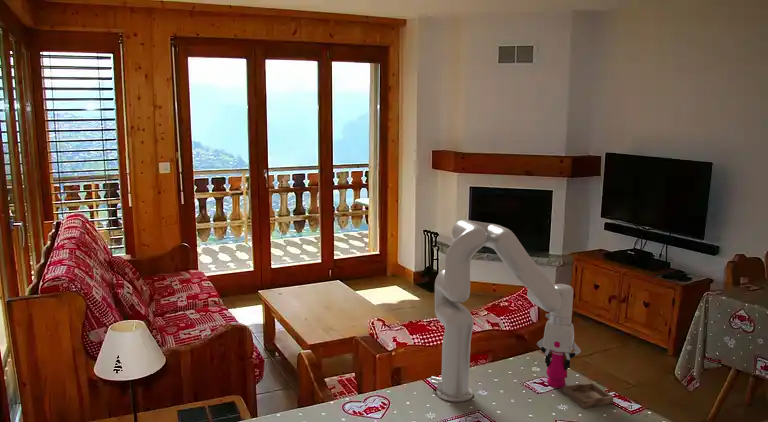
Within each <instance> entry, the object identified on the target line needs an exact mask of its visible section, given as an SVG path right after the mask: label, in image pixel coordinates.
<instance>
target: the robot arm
mask: <svg viewBox="0 0 768 422" xmlns="http://www.w3.org/2000/svg"><path fill="white" fill-rule="evenodd" d="M451 234H452V238H453V239H454V240H453V241H452V242H451V244H450V245H449V246H448V249H447V251H446V252H445V259H444V269H442V270H441V271H440V272H438V274H437V276H436V278H435V280H434V311H435V316H436V319H437V320H438V321H439V323H441V325H443V327H444V333H443V338H442V342H441V343H442V345H441V346H442V348H441V376H440V377H437V376H433V375H432V376H431V377H430V383H431V385H434V386H437V388H436V395H437V396H438V398H440V399H442V400H445V401H447V402H448V401H449V402H455V403H457V402H458V403H461V402H466V401H469V400H470V399H472V397H473V396H474V392H473V391H474V390H473V389H472V388H471V386H469V385H470V364H471V362H470V361H471V358H470V357H471V344H472V343H471V341H472V335H473V334H472V333H473V330H474V318H473V315H472V313H471V311H470V310H469V309H467V308H466V307H465V306H464V305H463V304H462V303H464V302H466V301H467V300H468V299H469V297H470V295H471V261H472V258H473V257H474V255H475V254H476V253H477V252H478V251H479V250H480V249H482V248H483V247H487V248H490V249H493V250H494V252H496V254H497V256H498V257H499V258H500V260H501V261H502V262H503V264H504V266H505V267H506V268H507V269H508V271H509V272H510V274H511V275H512V276H513V277H514V278H515V279H516V280H518V281H519V282H520V283H522V284H523V285H524V286H525V287H526V288H527V293H526V296H527V298H528V300H529V301H530V302H531V303H532V304H534V305H536V306H537V307H539V308H541V309H542V310H544V311H545V312H548V313H545V318H547V319H548V320H547V321H546V324H545V327H544V333H543V338H541V339H540V340H539V341H537V343H536V345H537V347H539V349H540V350H541V351H542V352H543V354H544V356H545V361H544V362H545V364H546V367H548V366H549V364H550V362H551V359H552V353H551V350H552V351H558V352H563V353H565V354H564V356H565V357H566V358H564V359H565V360H564V364H565V370H566V371H567V372H568V369H569V368H570V367H571V359H573V358H575V357H576V356H577V355H579V354H580V353H581V351H582V350H581V349H580V347H579V346H578V345H577V344H576V342H575V330H574V324H573V323H572V317H573V316H572V315H573V303H574V302H573V301H574V288H573V287H572V286H571V285H568V284H565V283H556V284H554V283H553V282H552V281H551V280H550V278H549V277H548V276H547V275H546V274H545V273H544V271H543V270H542V269H541V268H540V266H539V265H538V264H537V263H536V262H535V261H534V260H533V259H532V257H531V256H530V255H529V253H528V252H527V251H526V249H525V248H524V246H523V245H522V243H521V242H520V241H519V239H518V237H517V236H516V234H515V233H513V231H512V230H510V229H509V228H507V227H504V226H502V225H500V224H496V223H489V222H483V221H482V222H481V221H477V220H469V219H462V220H461V219H460V220H458V221H457V222H456V223H455V224H454V225H453V227H452V229H451ZM556 341H557V342H559V343H560V347H559V348H556V347H555V346H554V344H555V343H554V342H556ZM573 350H574V351H573ZM572 351H573V352H572Z"/></svg>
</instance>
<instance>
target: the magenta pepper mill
mask: <svg viewBox="0 0 768 422" xmlns="http://www.w3.org/2000/svg"><path fill="white" fill-rule="evenodd" d="M554 343H555V344H554V346H555V347H556V348H559V347H560V343H559V342H557V341H556V342H554ZM550 353H551V361H550V364H549V366H548V367H547V366H546V367H547V368H546V376H547V379H546V381H547V382H546V383H547V385H548V386H549V387H552V388H556V389H560V388H561V389H562V388H564V386H566V378H567V377H568V370H567V371H566V370H565V360H564V359H565V357H564V356H565V353H563V352H558V351H552V350H550Z"/></svg>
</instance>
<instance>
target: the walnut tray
mask: <svg viewBox="0 0 768 422" xmlns="http://www.w3.org/2000/svg"><path fill="white" fill-rule="evenodd" d="M563 395H565V396H567V397H568V398H569V399H570V400H572V401H573V402H574V403H576V404H577V405H578V406H579V407H581V408H582V409H588V408H595V407H603V406H611V405H614V396H613V395H611V394H610V393H609V392H607V391H605V390H604V389H603V388H602V387H599V386H598V385H596V384H595V383H594V382H587V383H585V382H584V383H579V384H578V383H577V384H569V385H565V386H564V387H563Z"/></svg>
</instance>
